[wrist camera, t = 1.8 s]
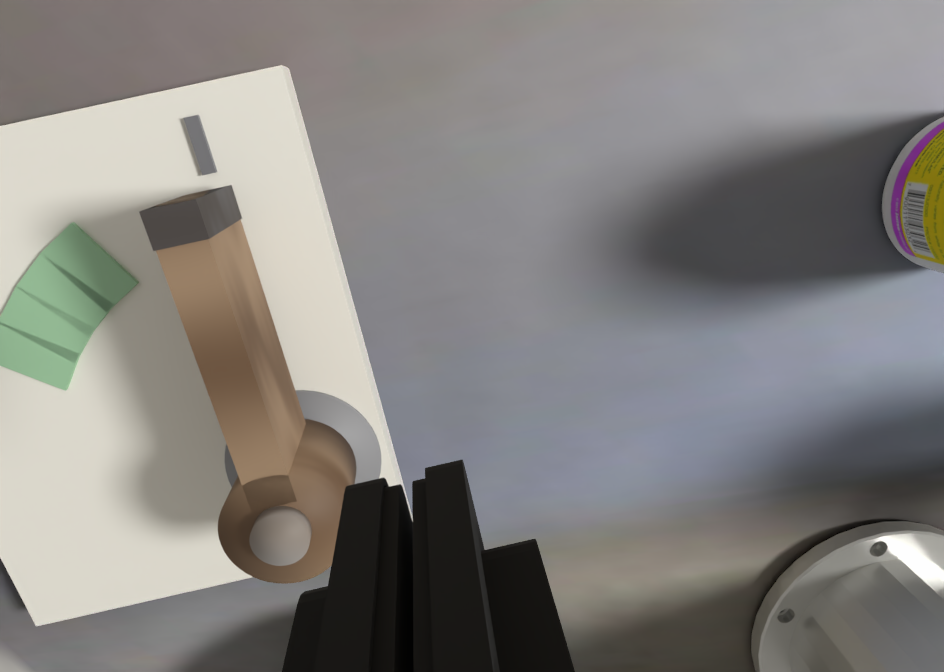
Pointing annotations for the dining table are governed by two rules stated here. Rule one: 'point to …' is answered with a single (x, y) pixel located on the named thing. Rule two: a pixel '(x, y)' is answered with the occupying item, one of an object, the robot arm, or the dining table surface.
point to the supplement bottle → (918, 199)
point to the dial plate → (152, 338)
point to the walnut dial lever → (251, 394)
